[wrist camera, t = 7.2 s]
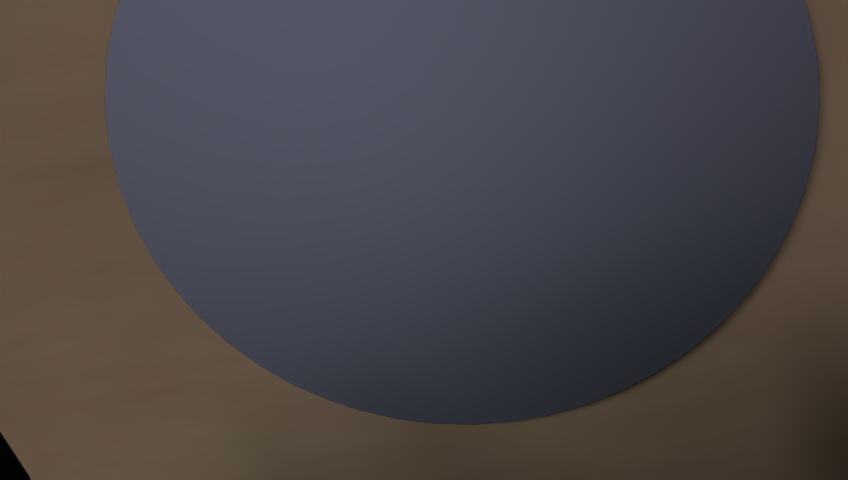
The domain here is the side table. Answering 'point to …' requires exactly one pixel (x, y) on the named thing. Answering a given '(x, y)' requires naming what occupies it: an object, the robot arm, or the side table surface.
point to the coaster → (462, 185)
